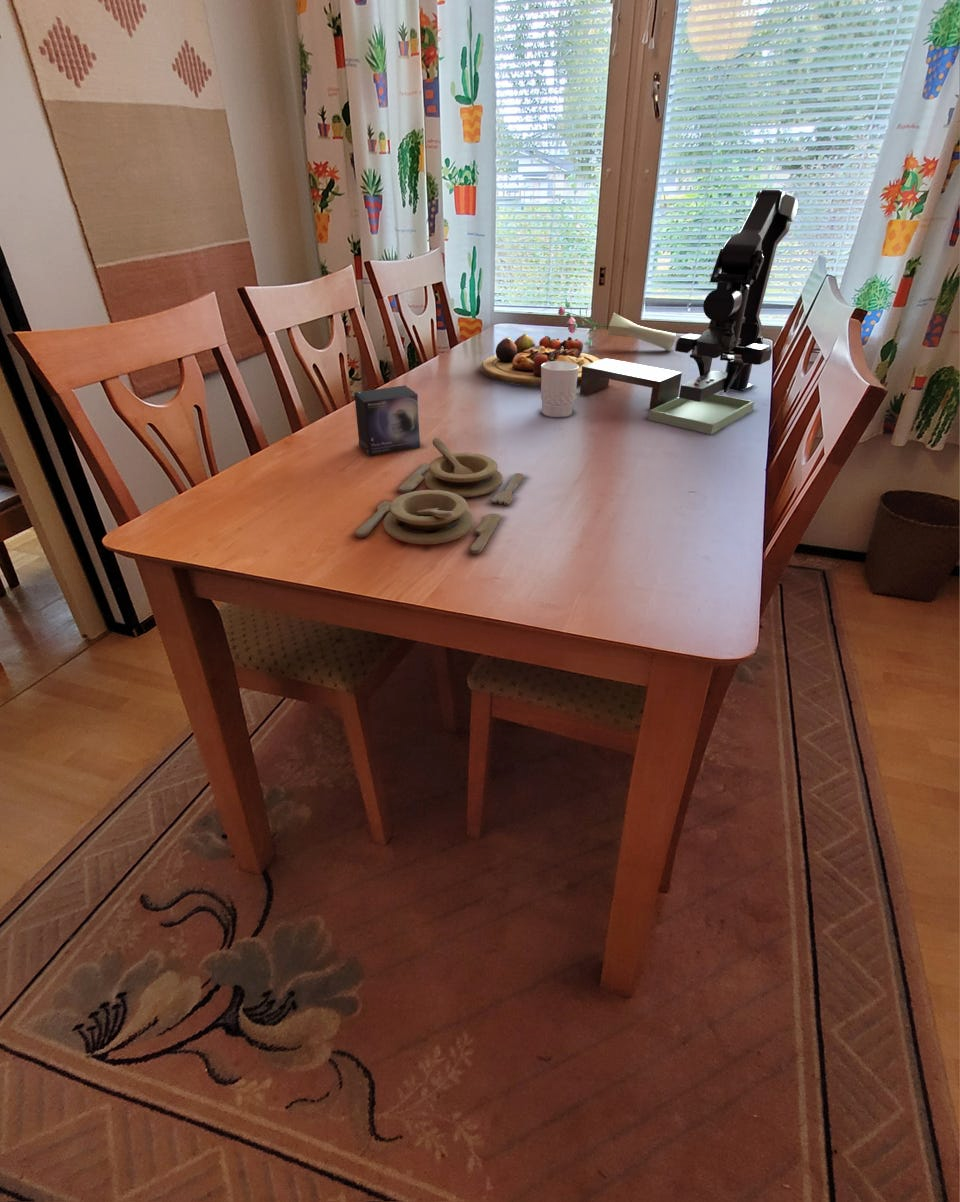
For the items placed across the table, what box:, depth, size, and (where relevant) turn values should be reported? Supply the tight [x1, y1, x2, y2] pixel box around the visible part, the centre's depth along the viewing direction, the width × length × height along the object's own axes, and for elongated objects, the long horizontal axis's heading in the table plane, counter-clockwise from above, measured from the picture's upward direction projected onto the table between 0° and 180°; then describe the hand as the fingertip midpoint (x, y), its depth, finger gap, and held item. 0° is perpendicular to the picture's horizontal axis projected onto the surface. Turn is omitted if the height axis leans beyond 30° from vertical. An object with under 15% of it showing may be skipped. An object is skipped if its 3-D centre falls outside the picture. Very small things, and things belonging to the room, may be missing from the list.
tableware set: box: [354, 437, 525, 555], centre depth 102 cm, size 30×20×6 cm, turn 164°
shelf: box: [579, 357, 683, 412], centre depth 149 cm, size 10×20×6 cm, turn 48°
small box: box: [353, 385, 421, 457], centre depth 122 cm, size 11×6×10 cm, turn 117°
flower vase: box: [557, 299, 677, 352], centre depth 191 cm, size 12×12×35 cm
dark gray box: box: [678, 369, 728, 402], centre depth 136 cm, size 15×5×3 cm, turn 138°
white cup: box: [540, 361, 579, 418], centre depth 139 cm, size 8×8×10 cm
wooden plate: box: [481, 333, 601, 387], centre depth 168 cm, size 32×32×8 cm
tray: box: [648, 393, 755, 435], centre depth 139 cm, size 20×14×2 cm
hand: (714, 390), depth 140 cm, fingers closed on dark gray box, 4 cm apart
